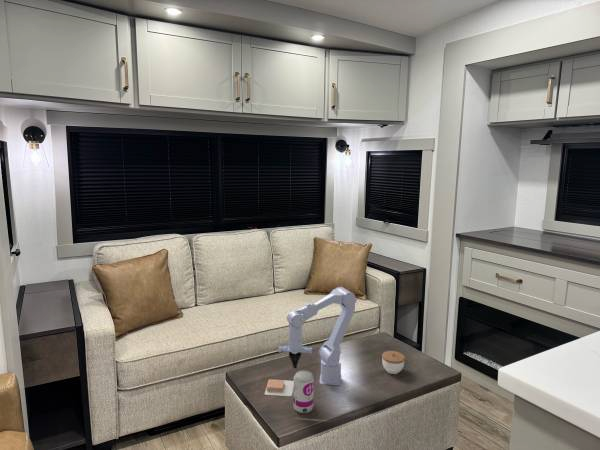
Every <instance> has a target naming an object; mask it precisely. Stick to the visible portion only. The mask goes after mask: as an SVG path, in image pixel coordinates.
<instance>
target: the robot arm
mask: <svg viewBox="0 0 600 450" xmlns="http://www.w3.org/2000/svg"><path fill="white" fill-rule="evenodd" d="M357 299H358V298H357V297H356V295H355V293H353V292H351V291H350V290H348V289H346V288H345V287H343V286H337V287H336V288H334V289H332V290H331V292H330V293H329V294H327V295H326V296H324V297H323V298H321V299H319V300H318V301H316V302H315V303H312V302H310V303H309V302H307V303H306V304H305V305H304V306H302V307H300V308H297V309H296V310H292V311H290V312H289V313H288V314H287V316H286V320H287V322H288V345H279V346H278V353H282V352H284V353H288V357H289V359H290V361H291V363H292V367H293V369H297V367H298V363H299V361H300V358H301V357H302V353H305V354H309V355H311V354H312V352H313V351H312V350H313V347H310V346H304V345H303V326H304V324H305V322H306V321H308V320H309V319H311V318H313V317H315V316H317V315H318V313H319V311H320V310H322V309H324V308H326V307H328V306H330V305H333V304H336V305H340V307H341V312H340V313H339V316H338V318H337V321H336V323H335V325H334V327H333V330H332V332H331V334H330V337H329V339H328V340H326V341H324V342H323V345H322V346H320V348H319V350H318V355H319V357H320V360H321V361H320V375H319V384H321V385H330V386H341V381H342V363H341V362H340V360H341V359H340V358H341V353H342V351H341V350H342V349H341V346H340V345H341V344H342V342H343V339H344V337H345V334H346V332H347V329H348V328H349V326H350V323H351V320H352V318H353V316H354V314H355V311H356V302H357Z"/></svg>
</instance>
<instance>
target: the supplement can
mask: <svg viewBox="0 0 600 450" xmlns="http://www.w3.org/2000/svg"><path fill="white" fill-rule="evenodd" d="M314 378H315V377H314V375H313V373H312V372H311V371H310V370H304V369H302V370H299V371H296V372H295V373H294V376H293V381H294V387H293V395H292V398H293V402H292V404H293V410H294V411H296V412H298V413H301V414H306V413H309V412H311V411H312V410H313V409H314V398H315V397H314V394H315V393H314V389H315V387H314V385H315V383H314V382H315V379H314Z"/></svg>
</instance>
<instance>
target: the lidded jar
mask: <svg viewBox="0 0 600 450" xmlns="http://www.w3.org/2000/svg"><path fill="white" fill-rule="evenodd" d="M381 358H382V359H381V360H382V366H383V368H384V370H385V371H386V372H387V373H388V374H391V375H398V374H399V373H400V372H401V371H402V370H403V369H404V366H405V359H406V356H405V355H404V354H403V353H401V352H399V351H394V350H387V351H383V353H382V355H381Z"/></svg>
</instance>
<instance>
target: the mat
mask: <svg viewBox="0 0 600 450" xmlns="http://www.w3.org/2000/svg"><path fill="white" fill-rule="evenodd" d="M269 380H271V379H268V381H267V385H268V382H269ZM282 381H284V388H283V391H267V385H266V388H265V391H264V395H267V396H281V397H282V396H283V397H293V394H294V380H285V379H282Z"/></svg>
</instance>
